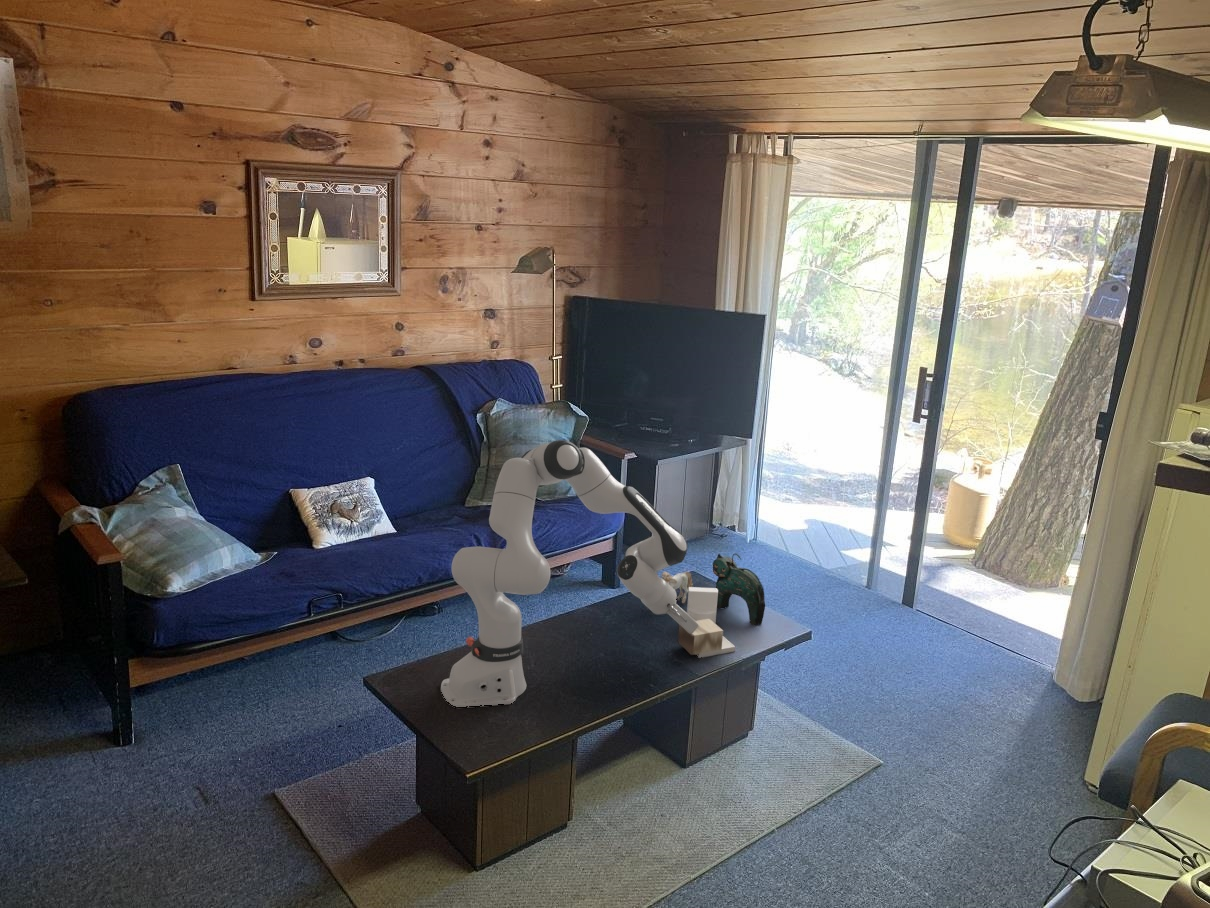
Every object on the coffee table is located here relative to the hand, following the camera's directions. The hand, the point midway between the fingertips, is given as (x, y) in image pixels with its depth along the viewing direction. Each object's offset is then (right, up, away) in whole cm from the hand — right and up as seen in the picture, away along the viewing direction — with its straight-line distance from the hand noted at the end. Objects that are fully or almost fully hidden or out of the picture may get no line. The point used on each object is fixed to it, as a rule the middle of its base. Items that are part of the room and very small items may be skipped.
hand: (689, 624), depth 275 cm
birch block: (-1, -4, +1) cm, 5 cm away
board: (+6, -7, +8) cm, 12 cm away
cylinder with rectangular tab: (+5, -4, +20) cm, 21 cm away
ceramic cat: (+18, -2, +29) cm, 34 cm away
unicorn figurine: (-1, 0, +31) cm, 31 cm away
